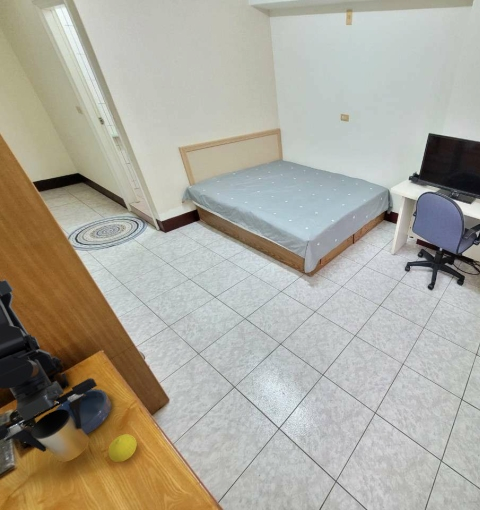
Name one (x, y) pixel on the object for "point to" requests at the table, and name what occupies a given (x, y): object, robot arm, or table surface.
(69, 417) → the tin
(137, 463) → the table surface
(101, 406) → the dish
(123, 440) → the lemon
